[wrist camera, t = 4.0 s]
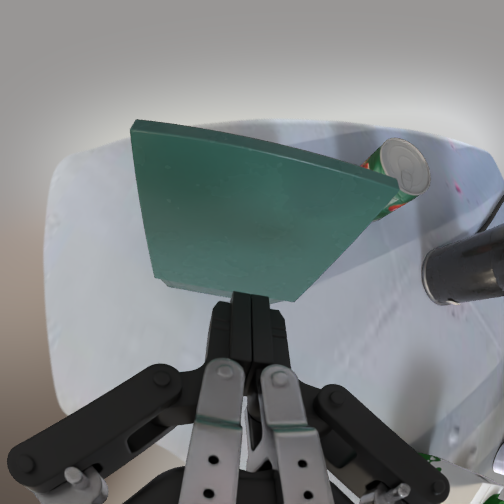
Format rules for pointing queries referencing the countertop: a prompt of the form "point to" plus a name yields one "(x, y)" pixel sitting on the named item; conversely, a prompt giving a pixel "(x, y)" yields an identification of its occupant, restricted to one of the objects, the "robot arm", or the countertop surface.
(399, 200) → the canned tomato
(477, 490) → the milk carton
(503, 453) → the spray bottle
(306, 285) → the case lid
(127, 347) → the countertop surface
